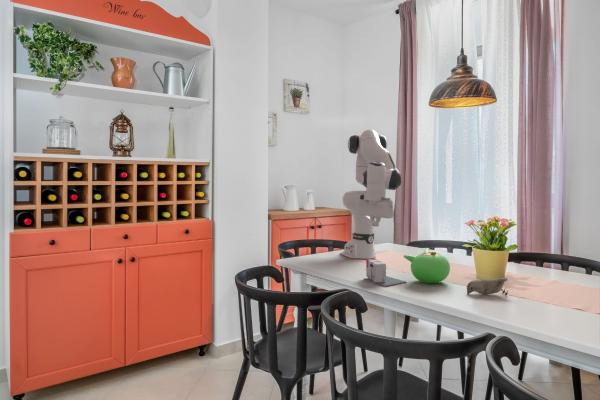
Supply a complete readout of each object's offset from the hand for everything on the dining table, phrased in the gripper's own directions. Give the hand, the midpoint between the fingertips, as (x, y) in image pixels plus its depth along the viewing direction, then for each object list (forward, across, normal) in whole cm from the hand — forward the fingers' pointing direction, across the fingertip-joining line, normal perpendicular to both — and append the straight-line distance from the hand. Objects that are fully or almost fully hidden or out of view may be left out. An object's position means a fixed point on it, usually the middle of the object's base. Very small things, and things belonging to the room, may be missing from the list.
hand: (375, 226), depth 199 cm
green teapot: (+25, -19, -16) cm, 35 cm away
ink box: (+20, +1, +1) cm, 20 cm away
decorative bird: (+25, -45, -21) cm, 55 cm away
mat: (+25, -8, +1) cm, 26 cm away
